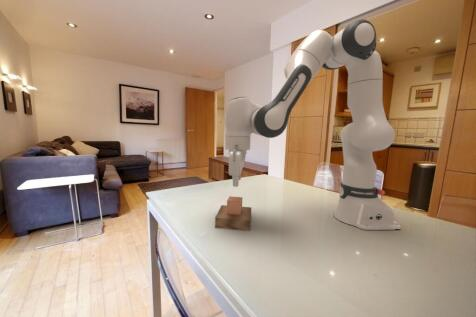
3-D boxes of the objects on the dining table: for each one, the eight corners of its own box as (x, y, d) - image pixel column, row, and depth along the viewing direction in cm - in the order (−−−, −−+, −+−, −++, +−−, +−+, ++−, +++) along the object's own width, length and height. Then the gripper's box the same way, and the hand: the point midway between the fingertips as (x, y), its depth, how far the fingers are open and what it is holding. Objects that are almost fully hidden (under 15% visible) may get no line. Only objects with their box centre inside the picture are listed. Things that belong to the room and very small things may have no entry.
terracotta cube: (241, 210, 78) (242, 197, 78) (240, 215, 73) (241, 201, 73) (228, 208, 79) (229, 196, 78) (226, 213, 74) (227, 200, 73)
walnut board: (251, 217, 82) (251, 207, 81) (249, 231, 70) (250, 220, 69) (221, 214, 83) (221, 205, 82) (214, 228, 71) (215, 217, 70)
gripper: (244, 147, 62) (243, 191, 64) (248, 143, 82) (247, 176, 84) (224, 146, 63) (223, 190, 64) (232, 142, 83) (232, 176, 85)
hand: (237, 182), depth 74 cm, fingers open, 8 cm apart
